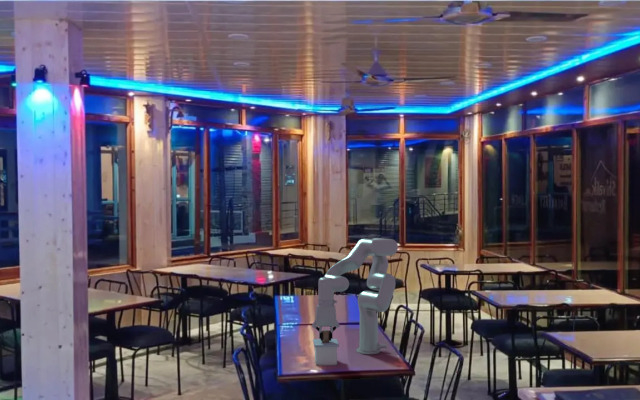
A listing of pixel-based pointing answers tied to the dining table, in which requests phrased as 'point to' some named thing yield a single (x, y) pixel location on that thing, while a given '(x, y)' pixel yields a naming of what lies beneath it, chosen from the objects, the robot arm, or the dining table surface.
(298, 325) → the dining table surface
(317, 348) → the storage box
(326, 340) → the lid
